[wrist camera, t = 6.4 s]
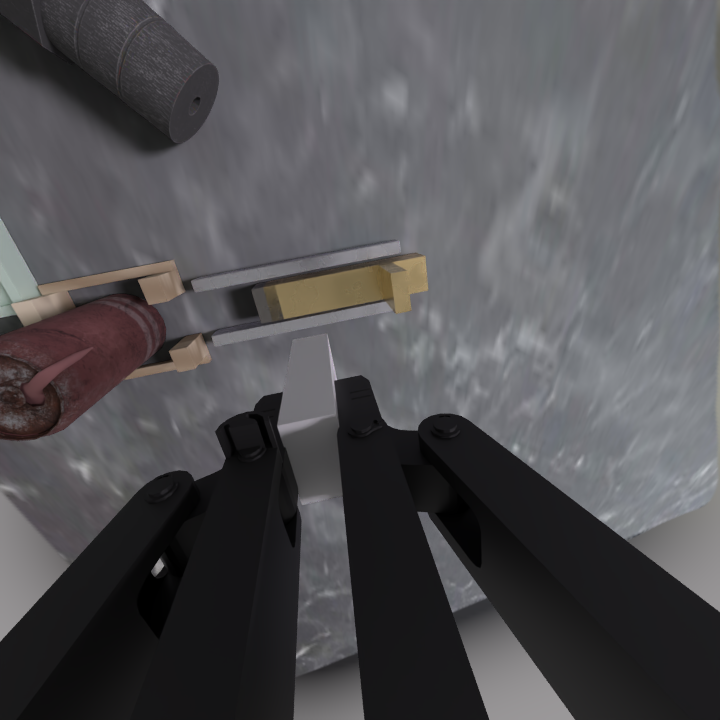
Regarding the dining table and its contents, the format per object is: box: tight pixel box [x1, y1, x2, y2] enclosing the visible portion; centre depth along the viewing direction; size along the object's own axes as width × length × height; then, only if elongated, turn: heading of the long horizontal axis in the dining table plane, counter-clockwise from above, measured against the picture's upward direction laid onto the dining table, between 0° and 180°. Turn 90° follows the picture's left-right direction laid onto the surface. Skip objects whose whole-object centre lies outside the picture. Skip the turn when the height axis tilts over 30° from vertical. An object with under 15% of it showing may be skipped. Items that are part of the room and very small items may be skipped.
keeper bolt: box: [251, 253, 428, 324], centre depth 28 cm, size 3×15×8 cm, turn 100°
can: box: [0, 294, 166, 441], centre depth 24 cm, size 6×6×14 cm
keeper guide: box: [191, 240, 401, 347], centre depth 31 cm, size 6×18×2 cm, turn 100°
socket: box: [11, 260, 212, 380], centre depth 29 cm, size 10×11×4 cm
